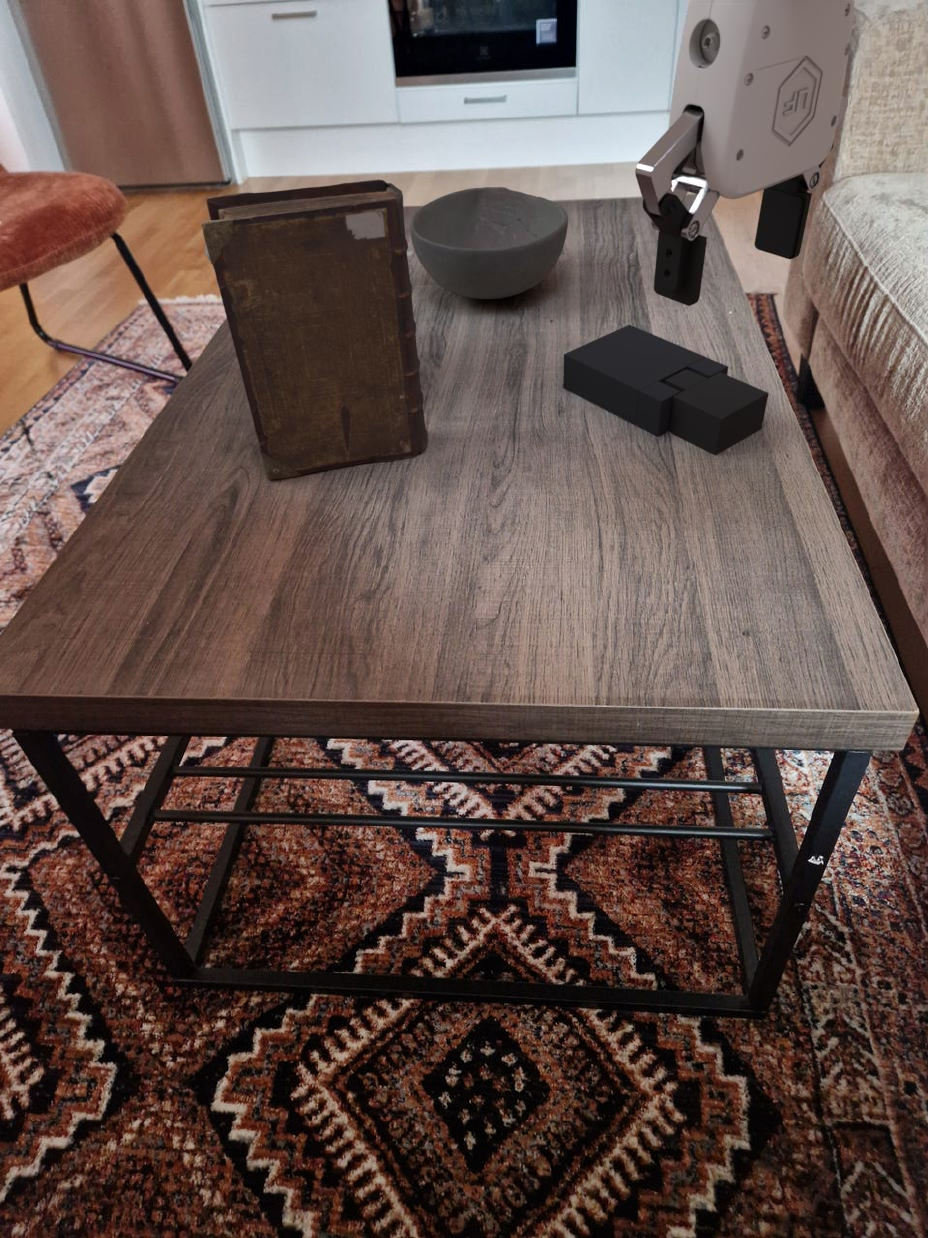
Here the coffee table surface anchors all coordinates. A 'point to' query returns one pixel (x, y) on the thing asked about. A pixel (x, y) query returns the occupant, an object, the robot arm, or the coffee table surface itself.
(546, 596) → the coffee table surface
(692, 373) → the pad
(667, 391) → the notch pad
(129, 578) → the coffee table surface
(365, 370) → the book
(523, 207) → the bowl
